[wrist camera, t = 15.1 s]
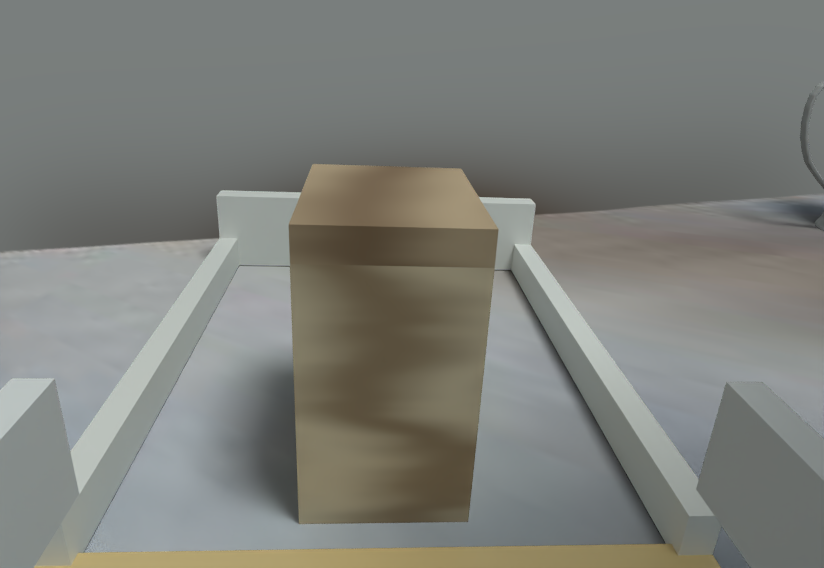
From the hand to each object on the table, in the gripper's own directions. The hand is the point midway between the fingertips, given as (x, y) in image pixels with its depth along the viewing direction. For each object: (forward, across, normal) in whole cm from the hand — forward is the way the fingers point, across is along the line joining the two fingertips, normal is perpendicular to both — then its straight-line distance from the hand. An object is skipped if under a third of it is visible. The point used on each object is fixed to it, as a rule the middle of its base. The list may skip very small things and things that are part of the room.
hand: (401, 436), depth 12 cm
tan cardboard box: (+11, 0, -9) cm, 14 cm away
